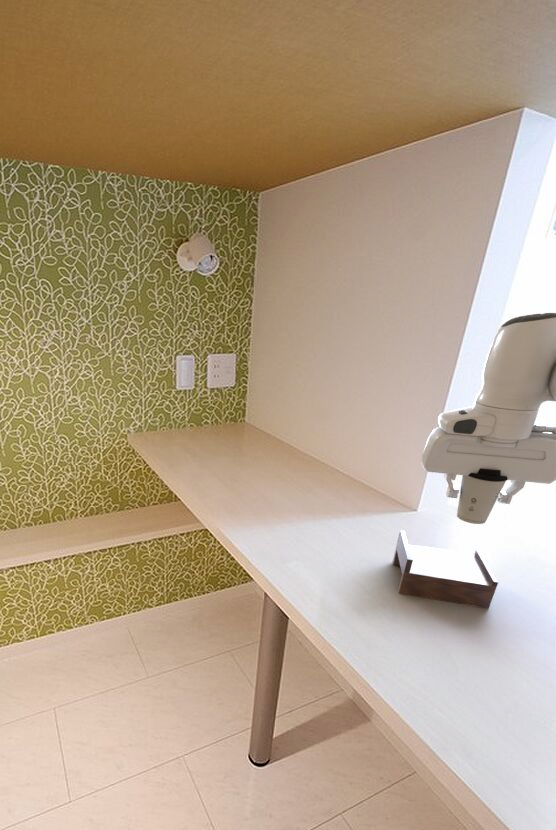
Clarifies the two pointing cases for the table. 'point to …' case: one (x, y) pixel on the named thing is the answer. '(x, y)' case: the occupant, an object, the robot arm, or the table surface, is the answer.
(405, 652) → the table surface
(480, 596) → the stand
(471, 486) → the coffee cup
